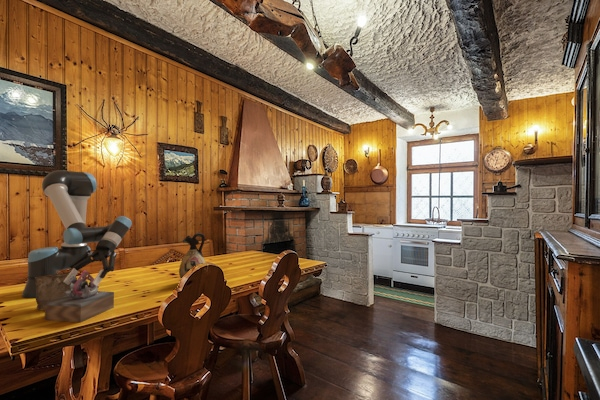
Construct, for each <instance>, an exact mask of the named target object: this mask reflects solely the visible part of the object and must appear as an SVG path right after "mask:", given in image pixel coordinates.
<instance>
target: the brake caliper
mask: <svg viewBox="0 0 600 400" xmlns="http://www.w3.org/2000/svg"><path fill="white" fill-rule="evenodd" d="M94 279H95V278H94V277H93V276H92V274H90V272H88V271H87V270H86V269H84V270H83V271H82V272H81V273H80V275H79V277H77V279H75V276H74V275H73V276H71V277H70V278H69V279H68V280H69V281H70V282H72V283H71V285H70V288H71V291H65V293H66V294H67V295H69V296H70V297H71V298H72V299H86V298H90V297H92V296H95V295H96V294H98V293H97V292H98V291H99V285H98V286H95V285H94V284H93V283H92V282H93V281H94ZM87 280H88V281H89V282H88V281H87Z"/></svg>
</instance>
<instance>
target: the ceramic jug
mask: <svg viewBox="0 0 600 400" xmlns="http://www.w3.org/2000/svg"><path fill="white" fill-rule="evenodd" d="M197 237H199V238H201V243H200V242H199V240H198V239H197ZM205 240H206V238H205V234H203V233H201V232H195V234H193V236H192V237H191V236H190V235H187V236H186V237H184V238H183V239H182V242H183V243H186V244H189V246H190V247H189V250H187V252H186V254H185V255H184V257H183V258H182V260H181V261H180V265H179V269H178V274H179V277H180V279H181V278H182V277H183V276H184V275H185V274H186V273H187V272H188V271H189V270H190V269H192V268H193V267H194V266H196V265H199V264H203V263H206V261H205V258H204V255H203V251H202V249H203V247H204V244H205ZM198 244H200V245H199V247H197V245H198ZM206 264H207V263H206Z"/></svg>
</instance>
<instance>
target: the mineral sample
mask: <svg viewBox="0 0 600 400" xmlns="http://www.w3.org/2000/svg"><path fill="white" fill-rule="evenodd" d="M69 272H70V271H68V272H61V273H57V274H53V275H47V276H39V277H35V284H36V297H35V301H36V309H37V310H38V311H45V302H48V301H51V300H54V299H58V298H61V297H64V296H67V294H66V293H65V291H71V288H70V285H71V283H72V282H71V283H70V284H69V285H67V284H66V283H64V282H63V281H64V280H65V278H66V277H67V276H68V273H69ZM75 279H77V280H78V277H77V275H76V276H75Z"/></svg>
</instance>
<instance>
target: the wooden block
mask: <svg viewBox="0 0 600 400" xmlns="http://www.w3.org/2000/svg"><path fill="white" fill-rule="evenodd" d="M97 293H98V294H96V295H95V296H92V297H90V298H86V299H72V298H71V297H70V296H69V295H67V296H64V297H61V298H58V299H54V300H51V301H48V302H45V310H44V321H52V322H65V321H66V322H67V323H83V322H84V321H87V320H89V319H91V318H94V317H96V316H98V315H101V314H103V313H105V312H107V311H109V310H111V309H113V308H114V307H115V306H114V303H115V298H114V297H115V292H114V291H105V290H104V291H103V290H100V291H99V290H98V292H97Z"/></svg>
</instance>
